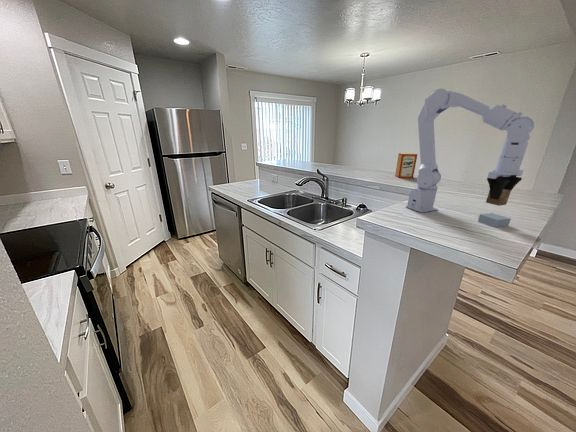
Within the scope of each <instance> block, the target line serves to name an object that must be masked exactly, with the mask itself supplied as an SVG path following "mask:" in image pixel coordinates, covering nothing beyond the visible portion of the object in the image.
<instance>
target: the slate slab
mask: <svg viewBox="0 0 576 432" xmlns="http://www.w3.org/2000/svg"><path fill="white" fill-rule="evenodd" d="M511 219H512V218H510V217H507V216H504V215H501V214H498V213H494V212H487V213H480V214H479V216H478V220H477V222H478V223H480V224H484V225H487V226H489V227H493V228H495V229H496V228H504V227H509V225H510V223H511Z"/></svg>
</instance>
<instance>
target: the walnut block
mask: <svg viewBox="0 0 576 432" xmlns="http://www.w3.org/2000/svg"><path fill="white" fill-rule="evenodd" d="M511 192H512V190H508V189H503V191H502V193H501V195H500V197H499V198H498V199H497V200H496V199H492V198H490V189H489V190H488V194H487V197H486V200H485V203H486V204H491V205H494V206H499V207H500V206H505V205H507V204H508V200H509V198H510V195H511Z"/></svg>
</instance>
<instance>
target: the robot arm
mask: <svg viewBox="0 0 576 432" xmlns="http://www.w3.org/2000/svg"><path fill="white" fill-rule="evenodd" d="M458 107H460V108H462V109H464V110H467V111H470V112H472V113H474V114H476V115H479V116H481V118H482V123H485V124H487V125H489V126H490V127H493V128H495V129H497V130H499V131H501V132H503V131H506V132H507V134H506V137H505V141H504V142H503V143H502V148H501V150H500V154H499V157H498V160H497V163H496V166H495V169H494V170H492V171H488V174H487V178H486V181H487V183H488V185H489V190H490V198H492V199H496V200H497V199H498V198H499V197H500V195H501V193H502V191H503V189H508V190H511V191H512V190H513V189H514V188H515V186H516V185H518V184H519V183H520V182H521V181H522V180H523V177H522V176H523V174H524V169H520V168H521V165H522V162H523V160H524V156H525V154H526V152H527V151H526V150H527V148H528V144H529V142H528V141H529V140H530V137H531V136H530V133H532V131H533V130H534V128H535V121H534V120H533V118H531V117H529V116H525V115H524V113H523V112H521V111H519V112H516V111H514V110H512V109H509V108H507V107H508V106H507V105H506V104H504V103H503V104H501V105H500V104H494V105H491V106H489V105H487V104H485V103H482V102H480V101H478V100H476V99H474V98H472V97H469V96H467V95H465V94H464V93H460V92H456V91H452V90H447V89H444V88H437V89H434V90H433V91H431V92H430V94H429V95H428V96H427V97H426V98H425V99H424V104H423V106H422V108H421V110H420V113H419V115H418V116H417V117H418V118H417V123H418V125H417V126H418V127H417V128H418V140H419V156H420V166H419V168H418V175H417V177H416V184H417V185H416V187H415V188H414V189H412V190H410V192H409V195H408V199H407V204H406V205H405V208H407V209H410V210H413V211H416V212H419V213H425V212H433V211H438V210H439V209H438V208H437V207H434V204H435V201H436V196H437V192H438V187H439V186H437V184H438V183H439V182H440V181H441V179H442V174H441V173H440V172H441V171H439V167H438V164H437V162H436V161H437V160H436V159H437V158H436V142H435V141H436V140H435V120H436V118H438V116H439V115H440V114H441V113H443V112H445V111H446V110H448V109H449V108H458ZM523 115H524V116H523Z"/></svg>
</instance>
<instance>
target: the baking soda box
mask: <svg viewBox="0 0 576 432" xmlns="http://www.w3.org/2000/svg"><path fill="white" fill-rule="evenodd" d="M397 157H398V158H397V163H396V168H395V169H396V170H395V175H394V176H395V177H396V178H398V179H414V174H415V169H416V163H417V160H418V153H413V152H399V153H398V156H397Z"/></svg>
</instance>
